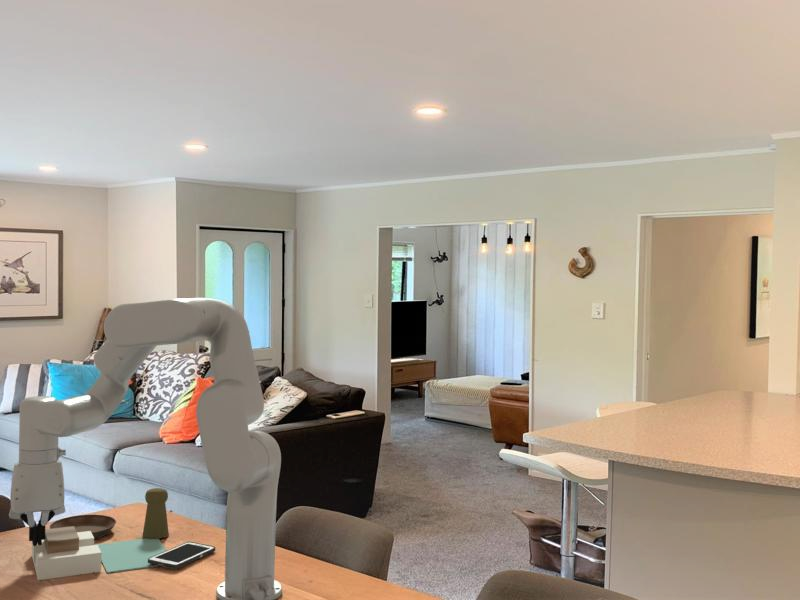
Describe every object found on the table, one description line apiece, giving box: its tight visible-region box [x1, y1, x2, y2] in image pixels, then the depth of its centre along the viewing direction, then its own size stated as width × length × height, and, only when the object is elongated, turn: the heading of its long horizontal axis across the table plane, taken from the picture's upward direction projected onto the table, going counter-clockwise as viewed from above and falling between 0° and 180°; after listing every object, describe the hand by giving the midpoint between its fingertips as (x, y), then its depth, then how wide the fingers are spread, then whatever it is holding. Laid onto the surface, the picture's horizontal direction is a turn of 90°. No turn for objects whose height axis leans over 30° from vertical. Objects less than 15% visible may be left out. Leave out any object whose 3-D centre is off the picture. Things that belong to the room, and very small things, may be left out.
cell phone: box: [148, 541, 216, 570], centre depth 176 cm, size 8×15×1 cm, turn 158°
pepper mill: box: [142, 487, 170, 539], centre depth 191 cm, size 6×6×11 cm
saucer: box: [48, 514, 117, 540], centre depth 192 cm, size 15×15×3 cm
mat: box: [95, 538, 168, 574], centre depth 178 cm, size 19×14×1 cm
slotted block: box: [31, 531, 102, 581], centre depth 171 cm, size 16×12×4 cm
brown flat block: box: [44, 526, 79, 554], centre depth 171 cm, size 9×6×2 cm, turn 29°
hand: (36, 543), depth 169 cm, fingers closed
